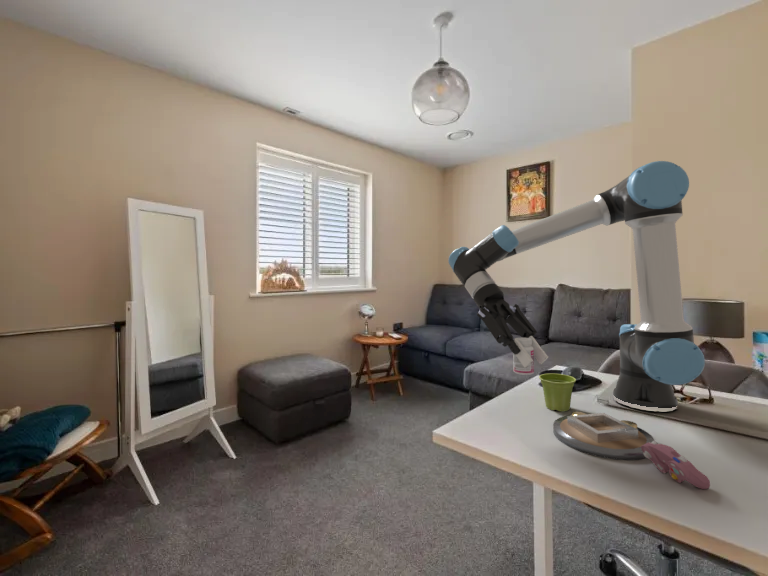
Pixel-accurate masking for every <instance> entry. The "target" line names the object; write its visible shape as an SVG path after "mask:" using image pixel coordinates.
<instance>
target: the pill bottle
mask: <svg viewBox="0 0 768 576" xmlns="http://www.w3.org/2000/svg"><path fill="white" fill-rule="evenodd" d="M516 338H517V339H518V340H519V342H520V343H521V345H522V346H523V347H524V349H525V350H526V351H527V353H528V354H529V355H530V357H531V358H532V360H533V361H532V362H531V363H530V364H529V365H528V366H527V367H525V368H524V366H523V365H522V363H521V362H520V361H519V359H518V358H517V356H516V355H515V354H514V353H513V352H512V356H513V357H512V361H513V363H512V365H513V366H512V367H513V369H512V370H513V373H514V374H518V375H521V376H522V375H524V376H529V375H533V374H534V373H535V357H534V349H533V347H532V346H531V345H532V339H531V338H523V337H516Z"/></svg>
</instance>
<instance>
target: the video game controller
mask: <svg viewBox="0 0 768 576" xmlns="http://www.w3.org/2000/svg"><path fill="white" fill-rule="evenodd" d="M641 449H642V451H643V453H644V456H645V457H646V458H645V459H649V460H650V461H651V462H652V463H653V464H654V466H655V468H657V469H658V470H659V471H660V472H661V473H663V474H666V473H669V476H670V477H671V479H673V480H675V481H676V482H677V483H679V484H681V483H683V482H684V481H687V482H688V483H689V484H691V485H692V486H694V487H696V488H698V489H702V490H708V489H709V488H710V487H711V481H710V479H709V477H708V476H707V475H705V474H704V473H703V472H701V471H700V470H699V469H698V468H697V467H695V465H694V464H693V463H692V461H690V460H688V459H687V458H686V457H685V456H683V455H681V454H680V453H679V452H677V450H676V449H674V448H673V447H672V446H669V445H667V444H662V443H657V442H656V440H655V441H653V442H651V443H650V442H648V443H646V444H644V445H642V446H641Z"/></svg>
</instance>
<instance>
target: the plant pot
mask: <svg viewBox="0 0 768 576" xmlns="http://www.w3.org/2000/svg"><path fill="white" fill-rule="evenodd" d="M538 379H539V380H540V383H541V385H542V389H543V390H542V391H543V397H544V402H545V403H544V404H545V407H546V408H547V409H548V410H550V411H555V410H556V411H558V412H568V411H570V408H571V400H572V393H573V387H574V386H575V383H576V381H577V379H576V378H575V377H574V376H571V375H568V374H562V373H544V374H540V375H539V376H538Z"/></svg>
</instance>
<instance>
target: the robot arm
mask: <svg viewBox="0 0 768 576" xmlns="http://www.w3.org/2000/svg"><path fill="white" fill-rule="evenodd" d="M689 188H690V179H689V175H688V174H687V172H686V171H685V169H684V168H683V167H681V166H680V165H678V164H677V163H676V164H675V163H674V162H672V161H666V160H657V161H652V162H649V163H646V164H644V165H642V166H639V167H638V168H636V169H634V170H633V171H632V172H631V173H630V174H629V175H628V176H627V177H626V178H624V179H622V180H621V181H619V183H617V184H615V185H614V186H613V187H610V188H609V189H607V190H605V191H602V192H601V193H598V194H596V195H595V196H594V197H593V199H591V200H589V201H586V202H584V203H581V204H579V205H576V206H573V207H570V208H568V209H565V210H563V211H561V212H558V213H554V214H552V215H550V216H547V217H545V218H542V219H539V220H536V221H534V222H531V223H528V224H526V225H523V226H520V227H518V228H515V229H512V230H511V229H510V228H509V227H508V226H507V225H505V224H501V225H500V226H499V227H497V228H496V229H493V230H492V232H490V233H489V234H488V235H487V236H486V237H484V238H483V239H482V240H480V241H479V242H478V243H476V244H475V245H474V246H473V247H471V248H469V247H467V246H460V247H459V248H456V249H454V250H453V251H452V252H451V253H450V254H449V256H448V264H449V267H451V269H452V272H453V273H454V274H455V276H456V277H457V278H458V280H459V281H460V283H461V284H462V285H463V287H464V289H466V291H467V292H468V294H469V295H470V297H471V298H472V299H473V302H475V304H476V306H477V307H478V309H479V311H477V313H476V316H478V318H479V319H480V320H482V322H483V323H484V324H485V326H486V328H487V329H488V330H489V332H490V333H491V335H492V336H493V337H494V339H495V340H496V342H497V344H500V345H501V344H502V346H503V347H504V348H506V347H508V349H510V351H511V352H512V354H513V353H514V354H515V355H516V356H517V358H518V359H519V361H520V362H521V363H522V365H523V366H524V368H525V367H527V366H528V365H529V364H530V363H531V362H532V361H533V360H532V358H531V357H530V355H529V354H528V353H527V351H526V350H525V349H524V347H523V346H522V345H521V343H520V342H519V340H518V339H517V338H518V337H515V338H514V336H513V334H512V332H511V330H510V328H509V326H510V327H511V328H512V329H513V330H514V331H515V332H516V333H517V334H518V335H519V336H520V338H522V337H523V338H531V339H532V345H531V346H532V347H533V349H534V359H535V360H536V361H537V362H538V364H539V365H543V363H545V362H546V361H547V360H548V359H549V355H547V353H546V351H544V349H543V348H542V346H541V344H540V343H539V342H538V340H537V339H536V338H535V335H536V334H537V333H538V331H537V330H536V328H535V327H534V325H532V324H531V322H530V320H528V318H527V317H526V316H525V314H524V313H523V312H522V310H521V308H520V306H519V305H518V304H516V303H515V304H514V305H510V304H509V303H508V302H507V301H506V300H505V298H504V297H505V295H504V292H503V290H501V288H500V287H499V285H498V284H496V281H495V280H494V279H493V277H491V275H490V274H489V273H488V272H487V270H488V269H490V267H491V266H493V265H494V264H496V263H497V262H500V261H503V260H504V259H507V258H511V257H513V256H516V255H519V254H521V253H524V252H526V251H529V250H532V249H536V248H538V247H540V246H544V245H547V244H549V243H552V242H554V241H555V242H556V241H558V240H560V239H563V238H566V237H568V236H572V235H574V234H578V233H580V232H583V231H586V230H588V229H589V230H590V229H592V228H594V227H596V226H600V225H603V226H610V225H613V224H616V223H619V222H624V224H625V225H626V226H628V227H629V228H631V230H632V236H633V238H632V239H633V251H634V260H635V270H636V281H637V292H638V303H639V314H640V322H638V323H637V324H636V323H635V324H632V323H627V324H626V323H625V324H621V326H620V327H619V333H618V336H619V376H618V379H617V382H616V385H615V388H614V389H613V391H612V396H613V395H614V396H615V397H616V398H618V399H620V400H622V401H624V402H628V403H631V404H637V405H640V406H646V407H658V408H672V407H676V406H677V405H678V406H679V401H678V398H677V396H675V391H674V388H673V386H680V385H686V384H689V383H691V382H693V381H694V380H695V379H697V378H698V377H699V376H700V375H701V374H702V373H703V371H704V369H705V363H706V360H705V355H704V353H703V351H702V349H700V347H699V346H698V345H697V344H695V337H694V328H693V326H692V325H691V324H688V323H687V322H686V321H685V319H684V308H683V307H684V306H683V297H682V284H681V277H680V276H681V273H680V263H679V262H680V261H679V252H678V249H679V248H678V241H677V228H676V227H677V226H676V223H677V222H678V221H679V219H681V217H683V214H684V213H683V202H682V200H683V199H684V198H685V197H686V195H687V193H688V192H689Z"/></svg>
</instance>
